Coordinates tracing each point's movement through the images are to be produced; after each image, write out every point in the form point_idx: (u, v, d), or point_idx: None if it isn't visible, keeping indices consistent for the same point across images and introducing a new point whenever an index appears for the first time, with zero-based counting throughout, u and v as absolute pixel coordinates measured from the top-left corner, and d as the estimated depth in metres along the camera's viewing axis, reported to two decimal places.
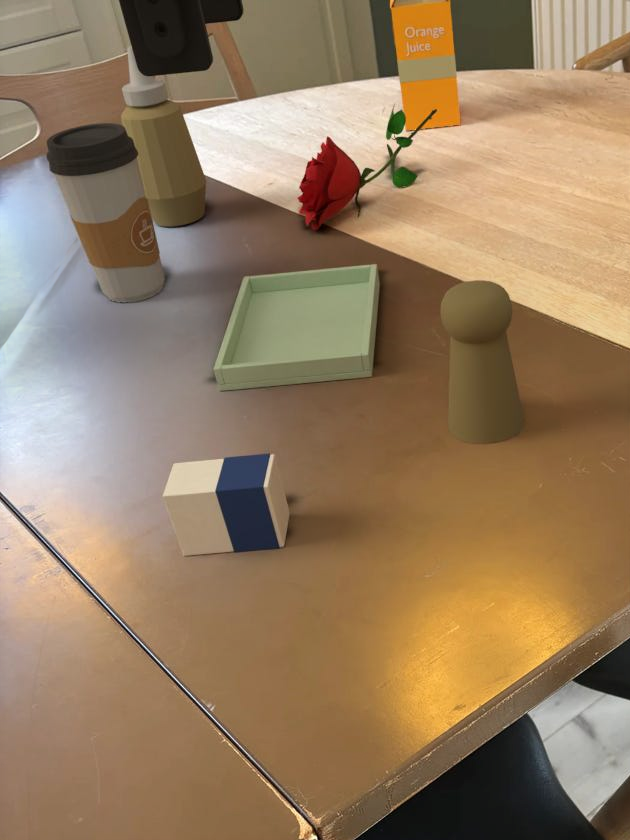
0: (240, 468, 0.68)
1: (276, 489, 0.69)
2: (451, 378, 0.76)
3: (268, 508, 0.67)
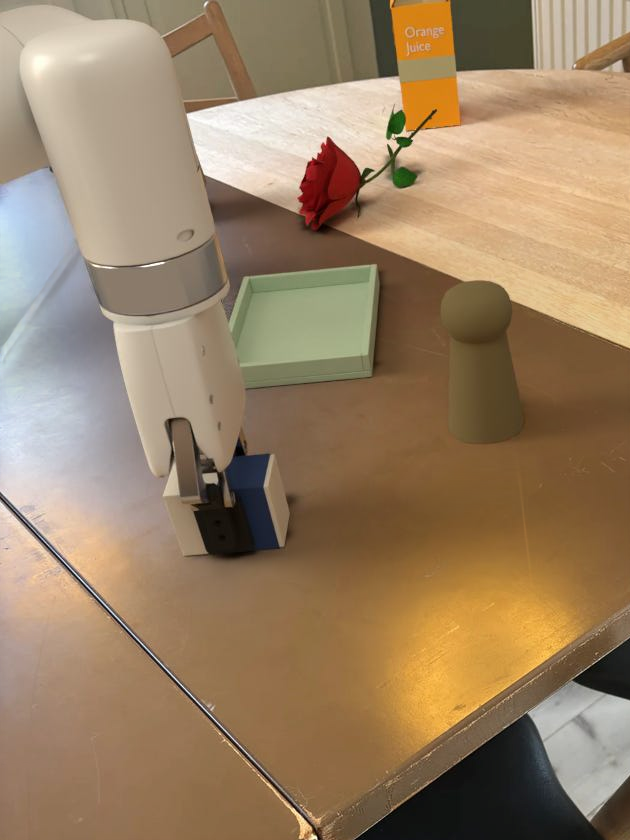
0: (240, 468, 0.68)
1: (276, 489, 0.69)
2: (451, 378, 0.76)
3: (268, 508, 0.67)
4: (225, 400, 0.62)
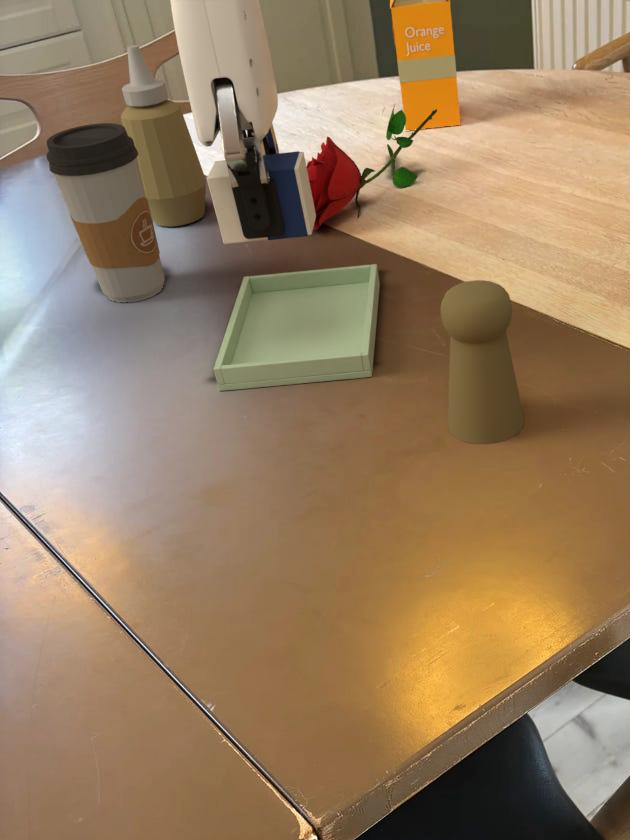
0: (273, 160, 0.78)
1: (305, 180, 0.78)
2: (451, 378, 0.76)
3: (298, 191, 0.77)
4: (262, 74, 0.72)
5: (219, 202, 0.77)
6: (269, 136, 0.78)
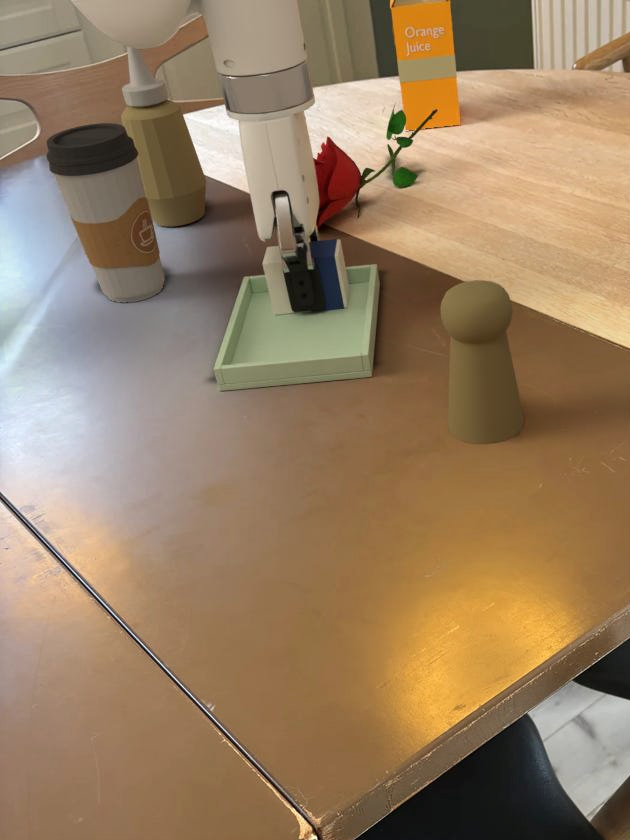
0: (316, 247, 0.94)
1: (342, 263, 0.95)
2: (451, 378, 0.76)
3: (337, 274, 0.94)
4: (310, 184, 0.88)
5: (272, 282, 0.94)
6: None
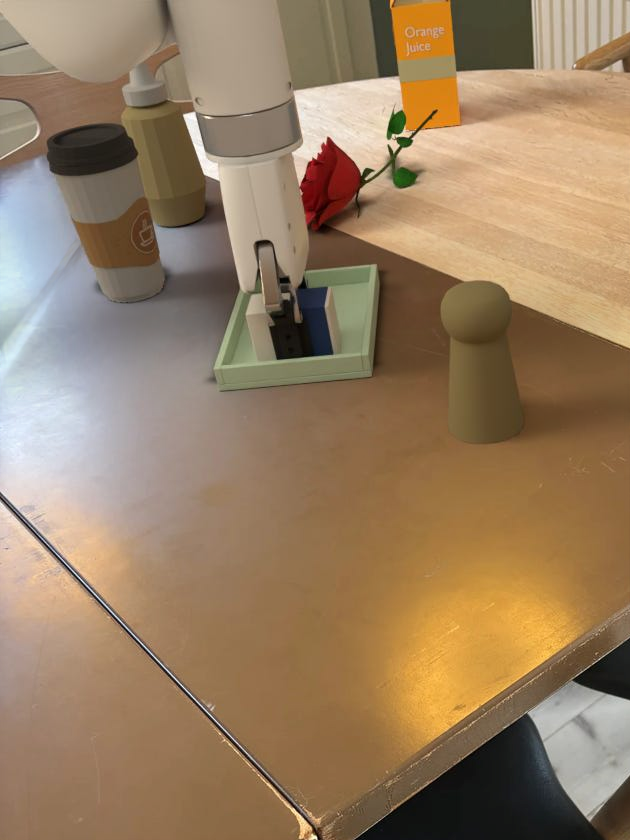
0: (304, 296, 0.86)
1: (333, 313, 0.87)
2: (451, 378, 0.76)
3: (327, 325, 0.86)
4: (298, 232, 0.80)
5: (256, 334, 0.86)
6: None
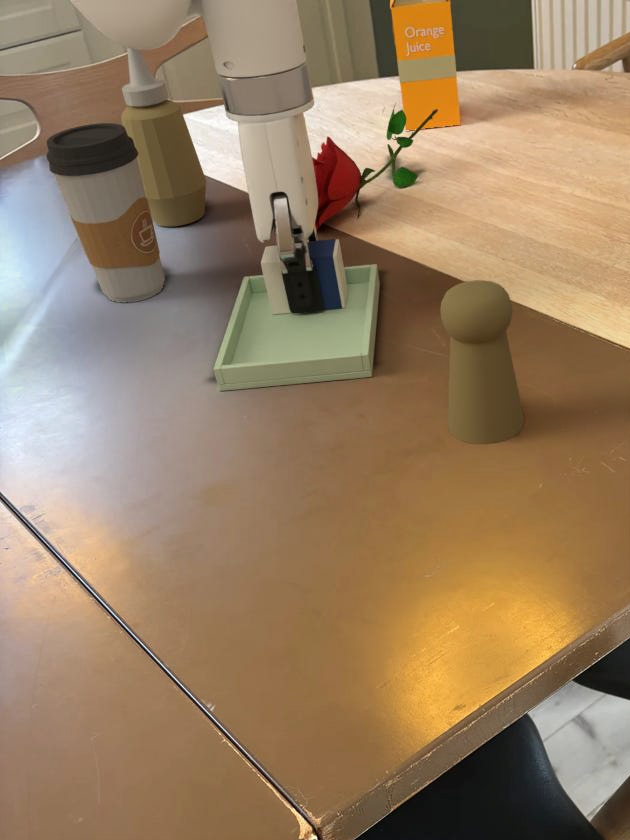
0: (314, 247, 0.94)
1: (340, 263, 0.95)
2: (451, 378, 0.76)
3: (335, 274, 0.94)
4: (309, 186, 0.88)
5: (270, 282, 0.94)
6: None
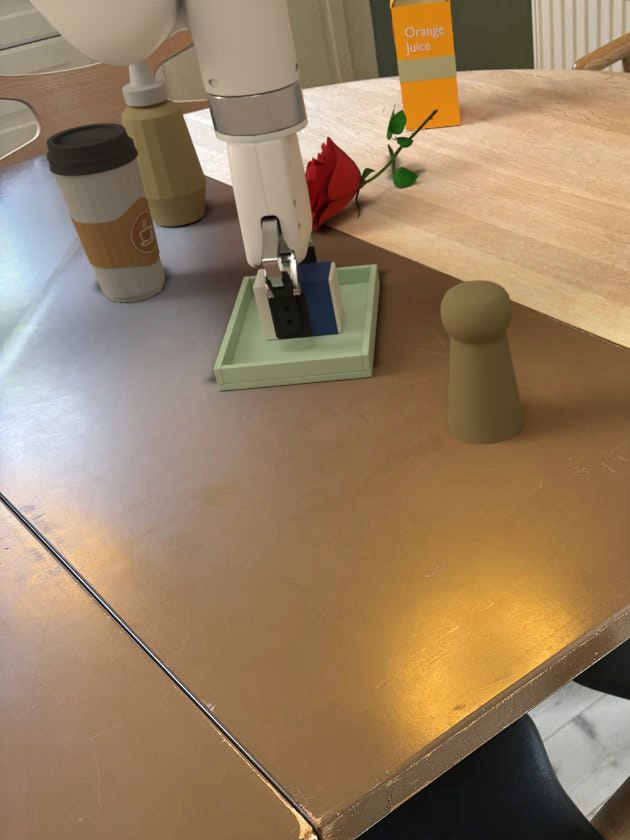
0: (309, 270, 0.90)
1: (336, 287, 0.91)
2: (451, 378, 0.76)
3: (331, 298, 0.90)
4: (302, 209, 0.84)
5: (263, 306, 0.90)
6: None
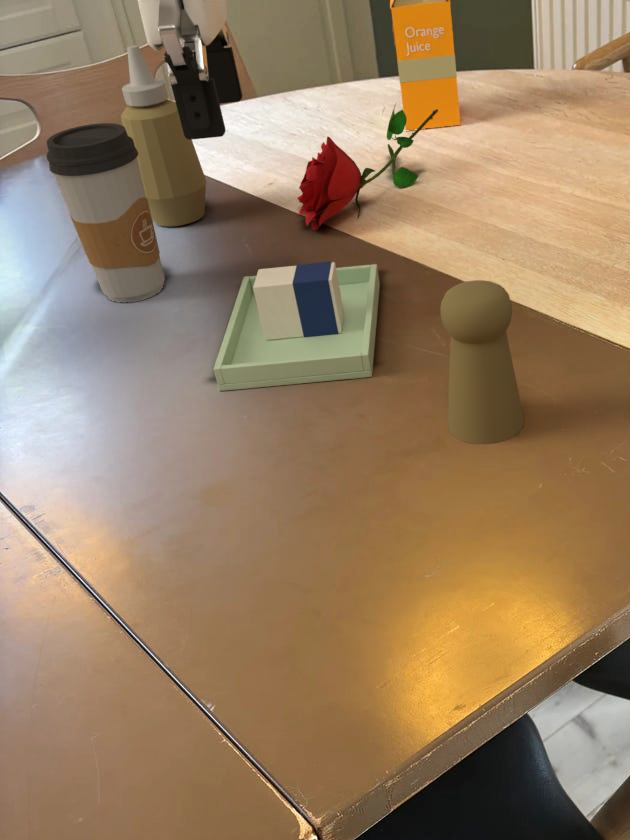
0: (309, 270, 0.90)
1: (336, 287, 0.91)
2: (451, 378, 0.76)
3: (331, 298, 0.90)
4: None
5: (263, 306, 0.90)
6: None
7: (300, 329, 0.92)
